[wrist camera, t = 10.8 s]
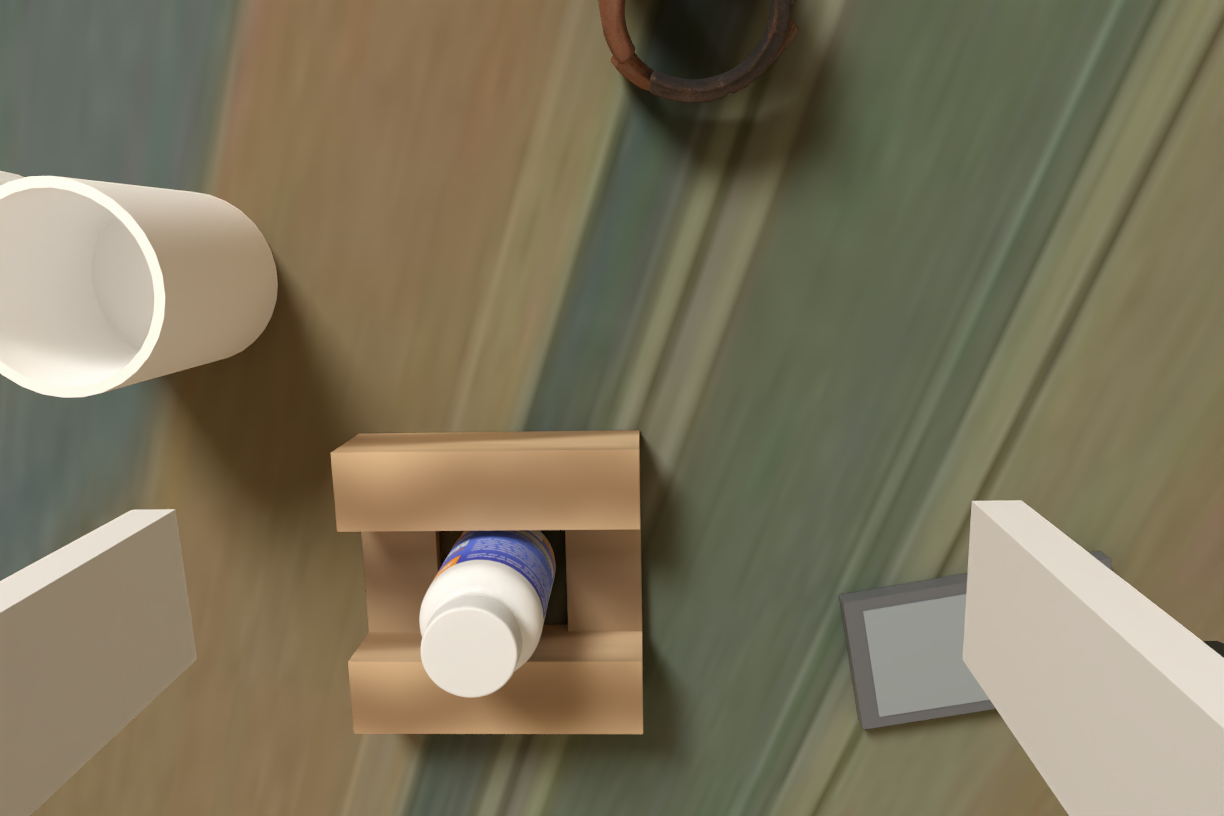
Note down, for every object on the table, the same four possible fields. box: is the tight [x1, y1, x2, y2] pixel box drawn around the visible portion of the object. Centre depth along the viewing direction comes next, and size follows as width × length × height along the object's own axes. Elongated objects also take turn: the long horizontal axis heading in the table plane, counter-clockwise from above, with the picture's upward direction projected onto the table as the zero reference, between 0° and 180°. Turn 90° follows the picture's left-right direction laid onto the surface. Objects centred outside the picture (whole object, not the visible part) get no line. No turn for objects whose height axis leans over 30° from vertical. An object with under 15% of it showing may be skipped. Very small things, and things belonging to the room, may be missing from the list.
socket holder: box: [331, 430, 643, 734], centre depth 42 cm, size 14×14×4 cm
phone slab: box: [839, 551, 1112, 730], centre depth 43 cm, size 7×13×1 cm, turn 101°
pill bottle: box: [419, 530, 556, 698], centre depth 39 cm, size 5×5×10 cm
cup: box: [0, 171, 278, 397], centre depth 37 cm, size 8×12×10 cm
